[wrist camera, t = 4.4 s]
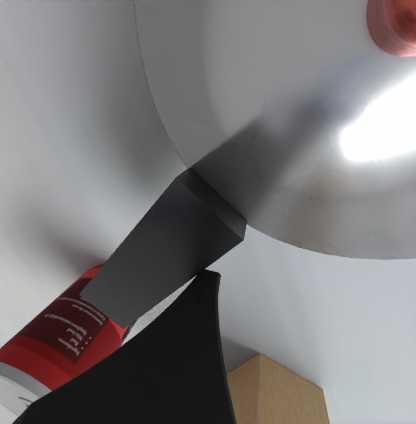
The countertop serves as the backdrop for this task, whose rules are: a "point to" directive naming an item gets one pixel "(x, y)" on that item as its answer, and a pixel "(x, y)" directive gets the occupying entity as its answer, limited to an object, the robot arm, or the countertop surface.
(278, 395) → the sandwich container
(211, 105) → the cooker lid
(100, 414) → the robot arm
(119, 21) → the countertop surface
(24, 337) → the canned food
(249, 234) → the countertop surface
